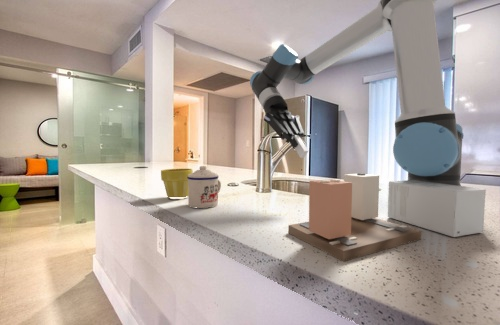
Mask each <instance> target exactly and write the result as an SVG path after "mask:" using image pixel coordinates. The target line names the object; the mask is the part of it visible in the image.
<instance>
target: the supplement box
mask: <svg viewBox="0 0 500 325" xmlns="http://www.w3.org/2000/svg"><path fill="white" fill-rule="evenodd" d="M486 191H487V189H486V188H485V189H484V188H479V187H473V186H472V187H471V186H464V185H461V186H457V185H449V184H441V183H434V182H426V181H418V180H408V179H407V180H394V181H393V180H391V181H388V194H387V196H388V201H387V218H389V219H392V220H395V221H396V220H397V221H399V222H403V223H406V224H410V225H413V226H416V227H419V228H422V229H426V230H429V231H432V232H435V233H439V234H442V235H446V236H449V237H452V238H456V237H457V238H458V237H462V236H467V235H474V234H480V233H484V228H485V227H484V225H485V222H484V221H485V206H486V204H485V203H486V193H487V192H486Z"/></svg>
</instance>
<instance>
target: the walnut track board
mask: <svg viewBox="0 0 500 325" xmlns="http://www.w3.org/2000/svg"><path fill="white" fill-rule="evenodd" d="M287 228H288V229H287V230H288V231H287V232H288V234H290V235H292V236H294V237H296V238H298V239H300V240H301V241H303V242H305V243H307V244H309V245H311V246H313V247H315V248H317V249H319V250H321V251H323V252H325V253H327V254H328V255H330V256H333V257H334V258H336V259H338V260H340V261H342V262H347V261H349V260H353V259H357V258H360V257H363V256H367V255H370V254H374V253H378V252H380V251H384V250H389V249H391V248H394V247H398V246H403V245H405V244H409V243H413V242H417V241H419V240H421V239H422V230H420V229H416V228H412V227H409V226H407V225H404V224H403V225H402V224H398V223H394V222H393V221H391V222H390V221H388V220H384V219H380V218H378V217H376V218H371V219H366V220H360V219H356V218H353V217H351V235H347V236H343V237H338V238H334V239H327V238H325V237H322V236H320V235H318V234H316V233H313V232H311V231H309V221H304V222H300V223H292V224H288V227H287Z"/></svg>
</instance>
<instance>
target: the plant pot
mask: <svg viewBox="0 0 500 325" xmlns="http://www.w3.org/2000/svg"><path fill="white" fill-rule="evenodd" d="M192 173H194V172H193V169H192V168H167V169H161V170H160V177H161V181H162V182H163V184H164V189H165V192H166V196H168V197H186V196H188V178H187V177H188V175H189V174H192ZM168 197H167V198H168Z"/></svg>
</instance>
